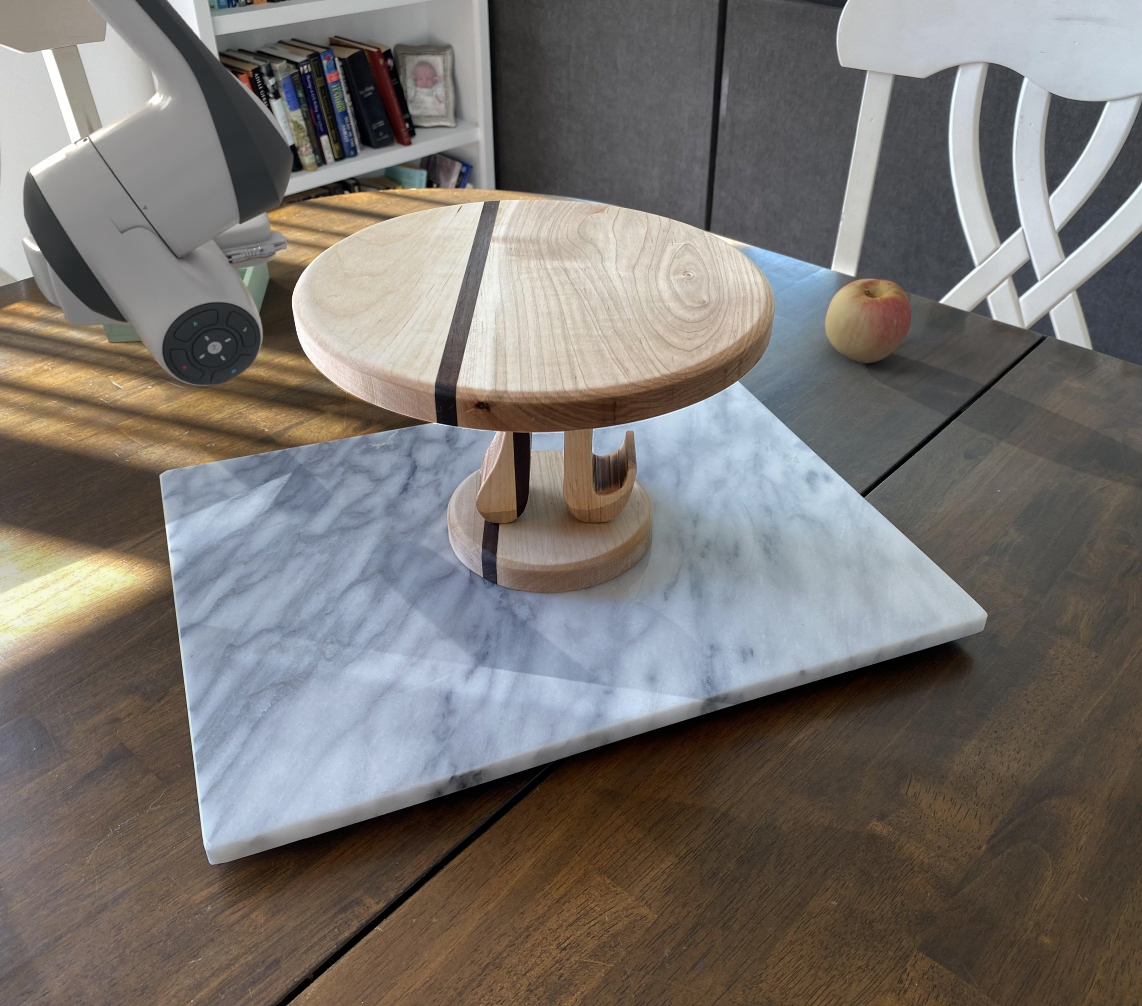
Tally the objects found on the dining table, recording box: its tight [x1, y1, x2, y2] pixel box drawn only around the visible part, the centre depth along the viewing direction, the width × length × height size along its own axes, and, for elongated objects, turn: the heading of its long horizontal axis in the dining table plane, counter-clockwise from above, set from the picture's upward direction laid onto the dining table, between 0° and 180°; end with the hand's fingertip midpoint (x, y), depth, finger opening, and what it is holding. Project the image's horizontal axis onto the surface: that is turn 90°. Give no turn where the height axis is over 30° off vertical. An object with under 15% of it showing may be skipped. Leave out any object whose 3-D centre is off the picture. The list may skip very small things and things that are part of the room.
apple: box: [824, 278, 912, 364], centre depth 101 cm, size 9×9×8 cm
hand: (140, 218), depth 87 cm, fingers closed on soda can, 5 cm apart
